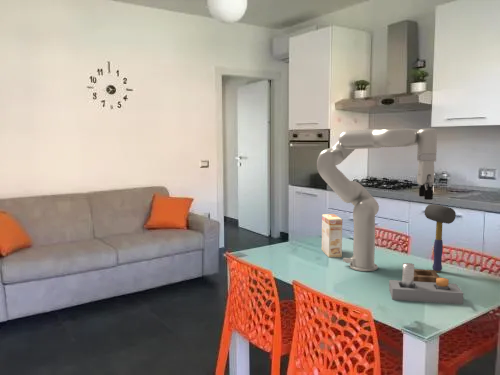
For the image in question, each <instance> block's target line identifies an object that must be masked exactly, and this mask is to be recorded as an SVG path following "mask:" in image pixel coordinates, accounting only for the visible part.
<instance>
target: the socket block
mask: <svg viewBox="0 0 500 375" xmlns="http://www.w3.org/2000/svg"><path fill="white" fill-rule="evenodd" d="M388 284H389V285H388V286H389V288H388V292H389V294H390V297H391V300H395V301H409V302H410V301H411V302H423V303H424V302H425V303H440V304H451V305H452V304H453V305H454V304H455V305H463V304H464V292H463V291H462V289H461V288H460V287H459V286H458V285H457V283H449V284H448V287H449V289H448V290H441V289H436V283H434V282H416V281H414V286H413V288H402V280H395V279H389V282H388Z"/></svg>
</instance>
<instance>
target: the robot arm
mask: <svg viewBox="0 0 500 375" xmlns="http://www.w3.org/2000/svg"><path fill="white" fill-rule="evenodd" d="M437 144H438V132H437V129H435V128H420V129H415V128H406V127H405V128H393V129H378V128H371V129H370V128H369V129H368V128H367V129H355V130H354V129H353V130H351V129H350V130H344V131H342V132H341V133H340V135H339V136H338V141H337V142H336V143H335V144H334V145H333V146H332V147H330V148H325V149H324V150H323V149H322V151H321V152H319V155H318V157H317V160H316V169H317V172H318V174H319V175H320V176H319V177H321V179H322V180H323V181H324V182H325V183H326V184H327V185H328V186H329V187H330V188H331V189H332V191H333V192H335V194H336V196H337V197H339V198H340V200H341V201H343V202H344V203H346V204H350V203H351V204H352V206H353V211H352V218H353V244H352V245H353V248H352V249H353V252H352V256H350V257H343V258H342V261H343V263H347V264H349V268H350V269H352V270H355V271H358V272H359V271H360V272H374V271H376V270H378V265H377V264H376V263H375V250H376V248H375V247H376V245H375V244H376V215H377V214H378V212H379V209H380V205H379V202H378V201H377V200H376V198H375V197H374V196H373V195H371V193H370V192H369V191H368V190H367V189H366V188H365V187H364V186H363V185H362V184H361V183H359V182H358V181H355V180H350V179H349V178H347V177H348V176H346V175H345V174H344V173H343V172H342V171H341V170H340V169H339V168H338V167H337V166H338V165H340V164H341V163H343V162H344V161H345V160H346V159H347V158H348V157H349V156H350V154H352V153H353V152H354V151H355V150H365V149H380V148H398V147H406V148H407V147H412V146H417V150H416V151H417V152H416V154H417V156H416V161H417V162H418V164H417V165H418V166H417V175H416V176H417V178H416V182H417V184H418V186H419V187H418V188H419V189H418V196H419V197H423V198H424V200H426V201H427V200H428V201H429V200H430V201H431V200H433V199H434V182H435V162H437Z"/></svg>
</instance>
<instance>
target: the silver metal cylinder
mask: <svg viewBox="0 0 500 375" xmlns="http://www.w3.org/2000/svg"><path fill="white" fill-rule="evenodd" d="M414 269H415V264H414V263H411V262H405V263H404V262H403V263H402V274H401V275H402V277H401V278H402V279H401V281H402V288H413V286H414Z"/></svg>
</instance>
